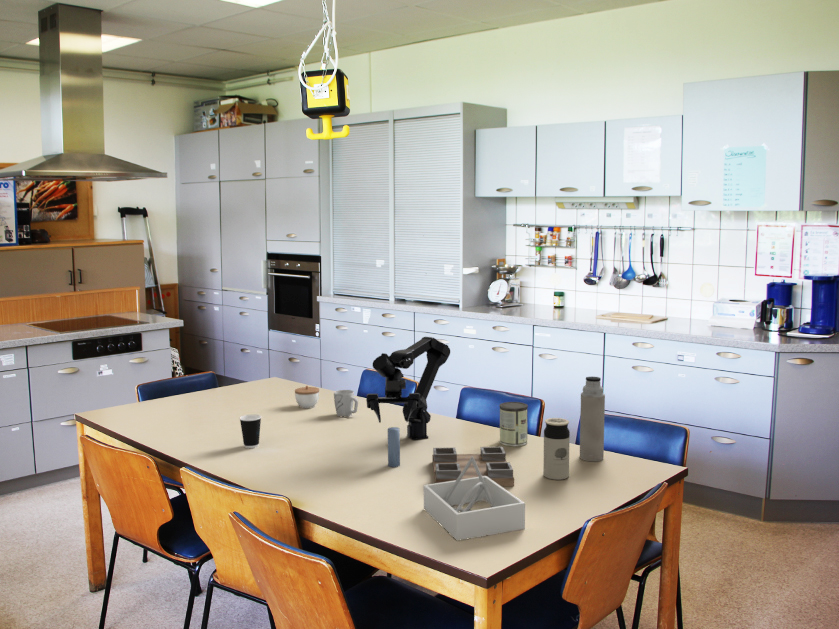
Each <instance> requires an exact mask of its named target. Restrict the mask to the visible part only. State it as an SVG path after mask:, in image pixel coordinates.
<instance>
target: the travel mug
mask: <svg viewBox="0 0 839 629" xmlns="http://www.w3.org/2000/svg"><path fill="white" fill-rule="evenodd" d="M544 423H545V428H544V430H543V474H542V475H543V476H544V477H545V478H547V479H549V480H555V481H562V480H566V479H568V478H569V477H570V440H571V439H570V429H569V426H568V425H569V423H570V421H569V420H567V419H566V418H562V417H561V418H560V417H550V418H546V419H545V420H544Z"/></svg>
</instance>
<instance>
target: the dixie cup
mask: <svg viewBox="0 0 839 629" xmlns="http://www.w3.org/2000/svg"><path fill="white" fill-rule="evenodd" d="M238 419H239V422H240V427H241V428H240V429H241V435H242V442H243V445H244V448H245V449H249V448H251V449H256V448H258V447H259V444H260V435H261V434H260V432H261V422H262V420H261V419H262V415H260V414H244V415H241V416H240V417H239V418H238ZM255 447H256V448H255Z"/></svg>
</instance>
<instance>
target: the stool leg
mask: <svg viewBox="0 0 839 629" xmlns="http://www.w3.org/2000/svg"><path fill="white" fill-rule="evenodd" d="M400 431H401V429H400V428H399V427H396V426H395V427H388V428H387V465H388V466H387V467H389V466H390V467H389V468H398V466H399V467H400V466H401V446H400V445H401V440H400V438H401V436H400Z"/></svg>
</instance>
